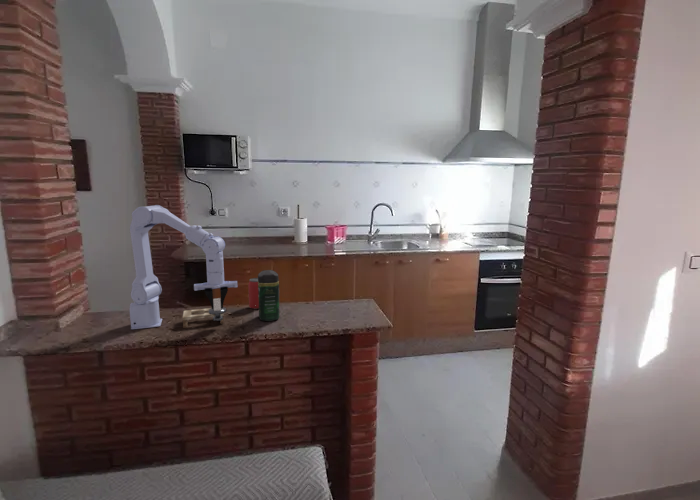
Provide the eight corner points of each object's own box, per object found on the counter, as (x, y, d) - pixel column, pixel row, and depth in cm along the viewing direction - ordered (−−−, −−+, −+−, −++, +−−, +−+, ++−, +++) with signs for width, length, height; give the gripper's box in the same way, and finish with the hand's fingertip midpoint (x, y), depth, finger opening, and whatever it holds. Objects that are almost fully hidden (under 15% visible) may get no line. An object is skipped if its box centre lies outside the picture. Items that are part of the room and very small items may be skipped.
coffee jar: (280, 321, 149) (279, 273, 145) (259, 322, 147) (257, 274, 143) (278, 312, 158) (277, 268, 155) (258, 314, 156) (256, 269, 153)
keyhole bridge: (183, 328, 141) (182, 317, 140) (184, 320, 148) (183, 310, 148) (223, 323, 146) (223, 313, 145) (223, 316, 153) (222, 306, 152)
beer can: (246, 306, 166) (245, 279, 164) (261, 303, 170) (260, 276, 168) (252, 310, 161) (251, 282, 158) (267, 307, 164) (266, 279, 162)
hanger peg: (209, 322, 137) (208, 303, 136) (209, 317, 142) (207, 298, 141) (226, 321, 139) (226, 301, 138) (226, 315, 144) (225, 296, 143)
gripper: (192, 275, 131) (195, 313, 134) (237, 272, 136) (239, 309, 139) (193, 270, 138) (195, 307, 140) (236, 267, 143) (237, 303, 145)
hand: (217, 308), depth 140 cm, fingers closed on hanger peg, 2 cm apart
